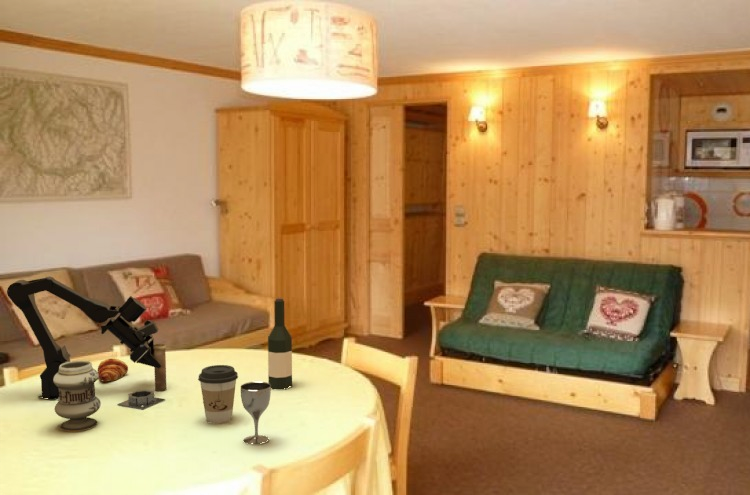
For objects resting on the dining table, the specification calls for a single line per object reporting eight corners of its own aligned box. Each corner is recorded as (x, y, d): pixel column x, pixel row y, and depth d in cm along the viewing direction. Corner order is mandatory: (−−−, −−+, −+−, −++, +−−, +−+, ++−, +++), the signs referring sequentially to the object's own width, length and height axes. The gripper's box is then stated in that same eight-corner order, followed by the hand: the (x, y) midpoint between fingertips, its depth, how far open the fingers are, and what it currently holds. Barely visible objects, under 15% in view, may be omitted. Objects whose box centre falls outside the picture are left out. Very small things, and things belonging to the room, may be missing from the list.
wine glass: (257, 432, 198) (257, 379, 197) (277, 439, 193) (276, 385, 192) (235, 440, 192) (234, 386, 190) (255, 448, 187) (254, 392, 185)
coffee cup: (199, 427, 202) (198, 376, 200) (198, 414, 212) (197, 365, 211) (240, 424, 205) (239, 373, 203) (237, 411, 216) (236, 362, 214)
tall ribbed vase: (154, 391, 234) (152, 347, 233) (155, 388, 238) (153, 344, 236) (166, 391, 235) (165, 346, 233) (167, 387, 239) (166, 343, 237)
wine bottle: (288, 390, 236) (287, 301, 233) (264, 389, 237) (263, 300, 234) (295, 383, 244) (295, 296, 241) (272, 382, 246) (271, 295, 242)
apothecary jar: (56, 421, 207) (54, 360, 205) (101, 416, 211) (99, 356, 209) (54, 435, 195) (51, 371, 194) (101, 430, 200) (98, 367, 198)
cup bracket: (142, 409, 217) (142, 400, 216) (117, 405, 221) (117, 396, 220) (165, 400, 226) (164, 391, 225) (140, 396, 230) (140, 387, 229)
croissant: (112, 377, 263) (101, 358, 262) (137, 363, 264) (126, 345, 263) (97, 393, 242) (84, 373, 241) (123, 379, 243) (111, 359, 242)
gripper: (139, 320, 224) (177, 352, 227) (145, 308, 242) (180, 339, 245) (113, 346, 223) (152, 378, 226) (121, 332, 241) (156, 362, 244)
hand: (161, 363), depth 236 cm, fingers open, 9 cm apart
